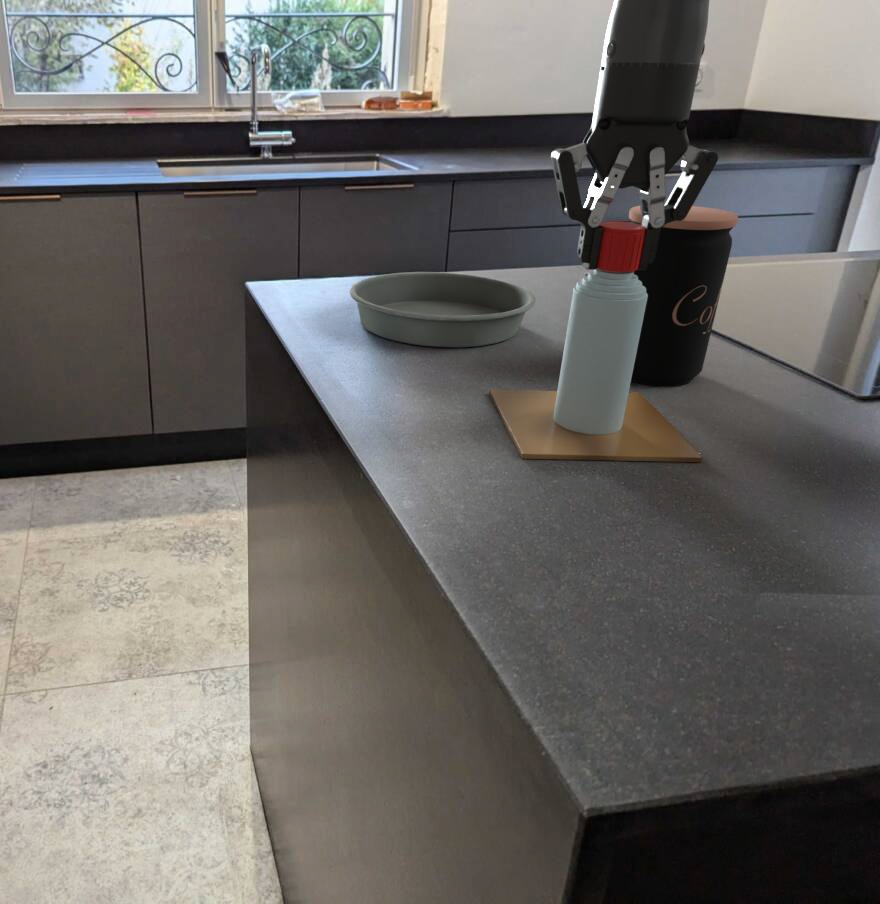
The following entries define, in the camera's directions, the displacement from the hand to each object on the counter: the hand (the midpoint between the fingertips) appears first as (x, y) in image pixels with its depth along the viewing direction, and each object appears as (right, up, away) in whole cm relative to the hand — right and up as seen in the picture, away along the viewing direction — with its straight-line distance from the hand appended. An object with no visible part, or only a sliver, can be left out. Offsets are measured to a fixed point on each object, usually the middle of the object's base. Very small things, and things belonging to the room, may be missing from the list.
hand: (613, 267), depth 75 cm
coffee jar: (+13, -8, +21) cm, 26 cm away
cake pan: (-9, +1, +38) cm, 39 cm away
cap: (0, 0, 0) cm, 0 cm away
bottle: (0, -14, +6) cm, 15 cm away
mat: (0, -14, +7) cm, 16 cm away
